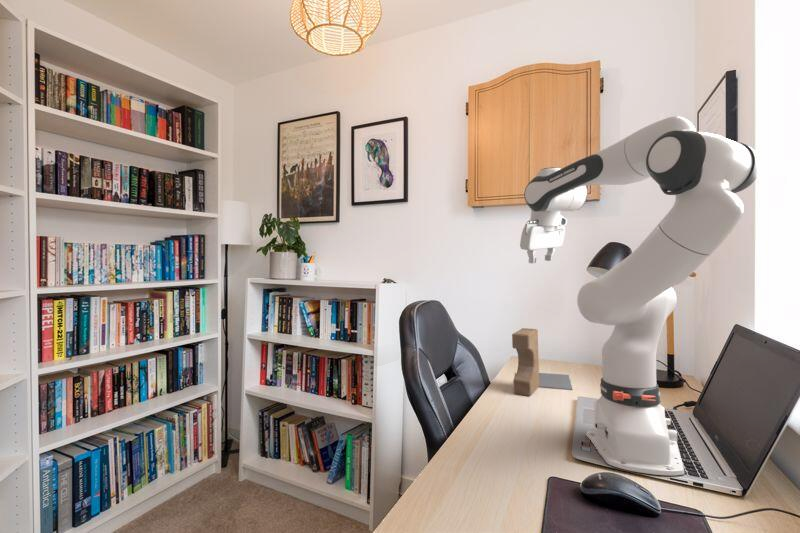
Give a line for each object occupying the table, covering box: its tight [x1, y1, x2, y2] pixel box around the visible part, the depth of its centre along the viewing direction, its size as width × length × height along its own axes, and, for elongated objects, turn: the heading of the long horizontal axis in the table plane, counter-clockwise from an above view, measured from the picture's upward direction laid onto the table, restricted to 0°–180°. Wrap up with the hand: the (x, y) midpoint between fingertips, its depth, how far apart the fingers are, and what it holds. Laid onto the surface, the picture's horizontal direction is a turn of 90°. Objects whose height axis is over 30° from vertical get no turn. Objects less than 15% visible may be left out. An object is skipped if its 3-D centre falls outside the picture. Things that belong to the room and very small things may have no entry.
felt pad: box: [514, 372, 573, 391], centre depth 143 cm, size 18×19×1 cm
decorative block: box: [511, 327, 540, 397], centre depth 131 cm, size 11×6×20 cm, turn 145°
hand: (540, 261), depth 128 cm, fingers open, 8 cm apart
